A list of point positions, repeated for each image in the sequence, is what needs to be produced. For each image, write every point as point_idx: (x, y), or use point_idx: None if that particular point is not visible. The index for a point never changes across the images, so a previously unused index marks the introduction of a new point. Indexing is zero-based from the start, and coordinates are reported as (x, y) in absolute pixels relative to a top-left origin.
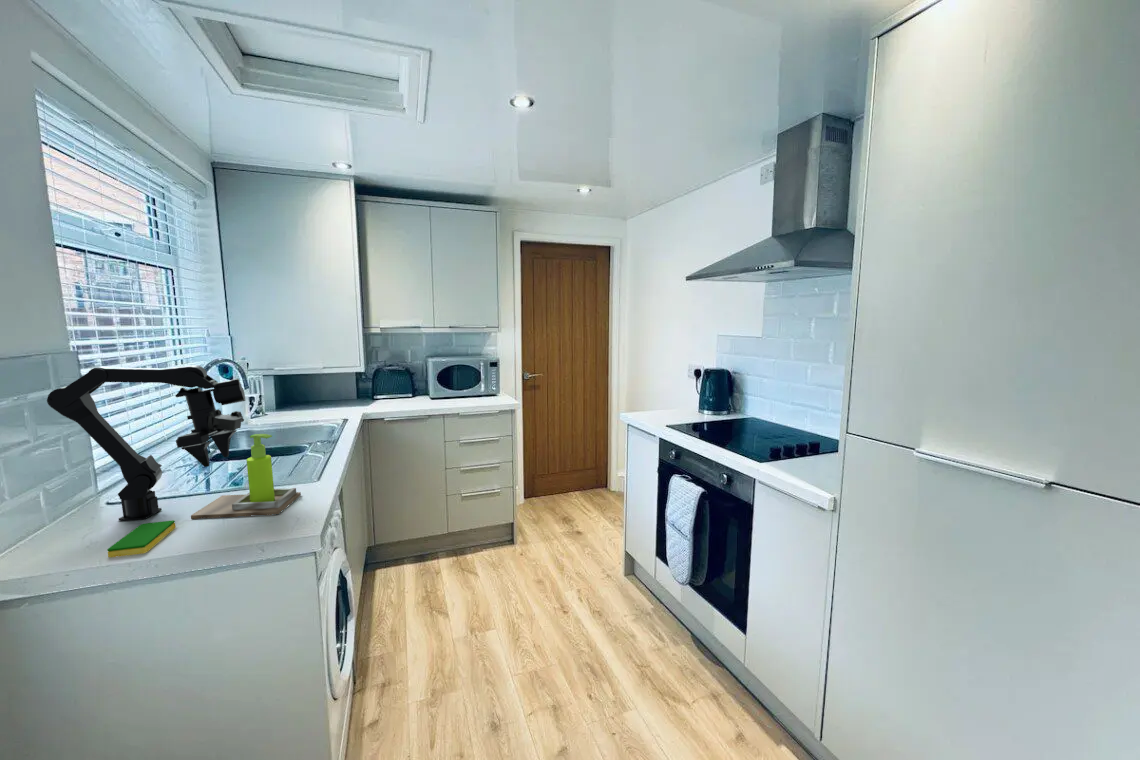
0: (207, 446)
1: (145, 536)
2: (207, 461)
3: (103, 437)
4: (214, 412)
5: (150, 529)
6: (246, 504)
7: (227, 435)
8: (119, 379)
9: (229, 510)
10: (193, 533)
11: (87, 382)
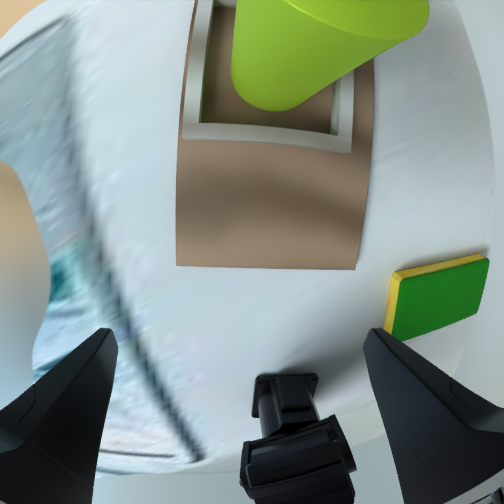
0: (491, 427)
1: (462, 285)
2: (407, 348)
3: None
4: None
5: (435, 301)
6: (352, 101)
7: (8, 476)
8: None
9: (344, 160)
10: (438, 205)
11: None
